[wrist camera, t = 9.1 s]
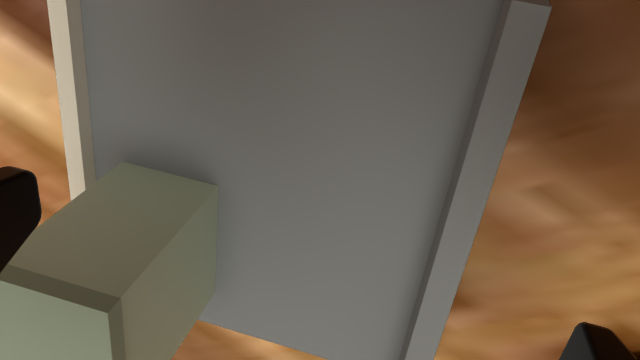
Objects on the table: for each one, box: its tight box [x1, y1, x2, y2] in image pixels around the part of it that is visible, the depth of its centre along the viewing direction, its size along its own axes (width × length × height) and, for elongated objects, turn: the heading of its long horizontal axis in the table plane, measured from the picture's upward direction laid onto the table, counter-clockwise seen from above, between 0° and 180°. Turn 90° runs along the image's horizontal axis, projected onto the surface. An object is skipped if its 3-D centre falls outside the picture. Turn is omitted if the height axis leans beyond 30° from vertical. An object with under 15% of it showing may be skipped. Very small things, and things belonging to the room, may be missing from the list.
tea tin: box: [0, 162, 218, 360], centre depth 22 cm, size 6×5×8 cm
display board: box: [47, 0, 552, 360], centre depth 22 cm, size 18×17×4 cm
